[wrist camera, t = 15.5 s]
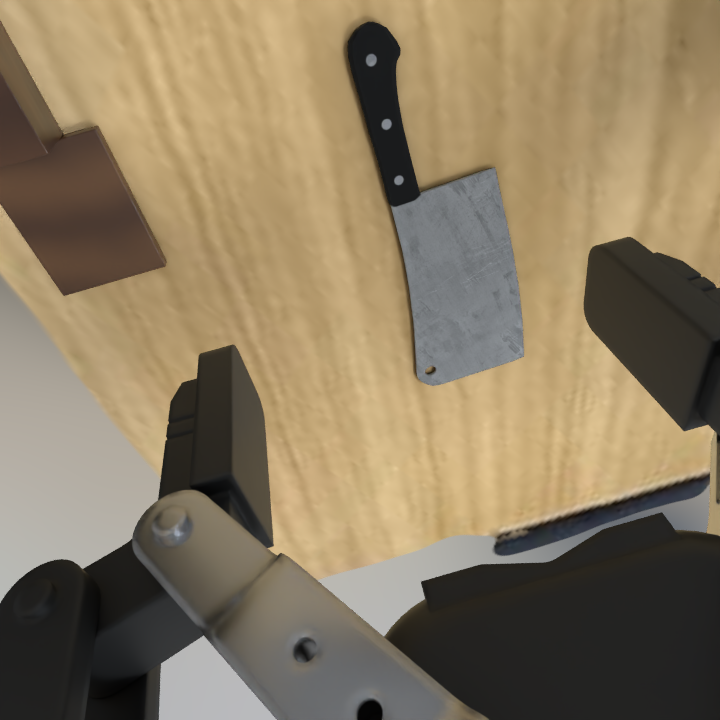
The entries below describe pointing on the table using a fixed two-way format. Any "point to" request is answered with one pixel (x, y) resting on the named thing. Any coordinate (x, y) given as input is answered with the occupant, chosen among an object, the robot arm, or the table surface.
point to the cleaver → (441, 235)
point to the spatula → (66, 190)
